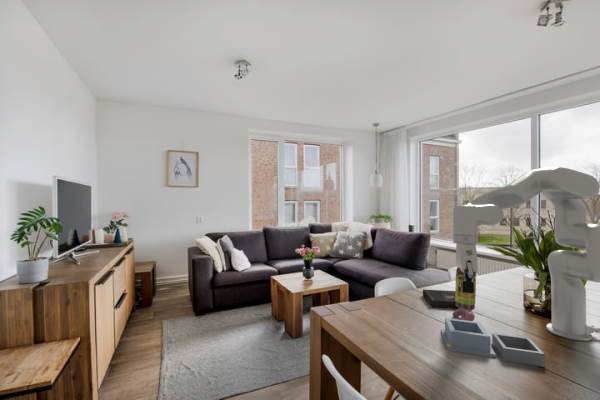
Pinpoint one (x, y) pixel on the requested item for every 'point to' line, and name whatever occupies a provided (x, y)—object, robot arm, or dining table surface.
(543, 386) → the dining table surface
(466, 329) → the socket dock
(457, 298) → the sauce bottle
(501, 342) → the grey square frame
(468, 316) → the video game controller
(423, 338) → the dining table surface
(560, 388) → the dining table surface
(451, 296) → the portable cd player
